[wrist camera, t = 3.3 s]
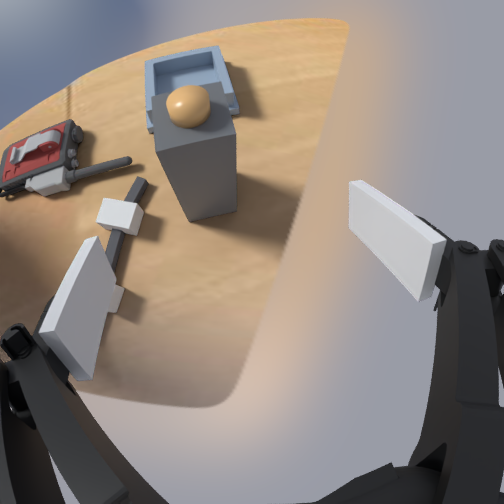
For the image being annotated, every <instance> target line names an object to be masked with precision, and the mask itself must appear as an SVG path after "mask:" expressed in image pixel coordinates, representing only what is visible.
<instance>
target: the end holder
mask: <svg viewBox="0 0 504 504" xmlns="http://www.w3.org/2000/svg"><path fill="white" fill-rule="evenodd" d="M220 81H221V82H222V86H223V89H224V93H225V96H226V100H227V103H228V107H229V110H230V114H231V115H236V114H239V105H238V102H237V99H236V96H235V93H234V89H233V86H232V83H231V80H230V77H229V74H228V71H227V68H226V65H225V62H224V58H223V56H222V54H221V51H220V48H219V46H213V47H206V48H201V49H195V50H190V51H185V52H180V53H176V54H171V55H167V56H163V57H159V58H155V59H151V60H148V61H145V97H146V118H147V129H148V131H149V134H150V133H153V132H154V129H153V116H152V102H151V97H152V96H156V95H159V94H163V93H167V92H171V91H174V90H176V89H178V88H180V87H183V86H187V85H196V86H199V85H204V84H209V83H215V82H220Z"/></svg>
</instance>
